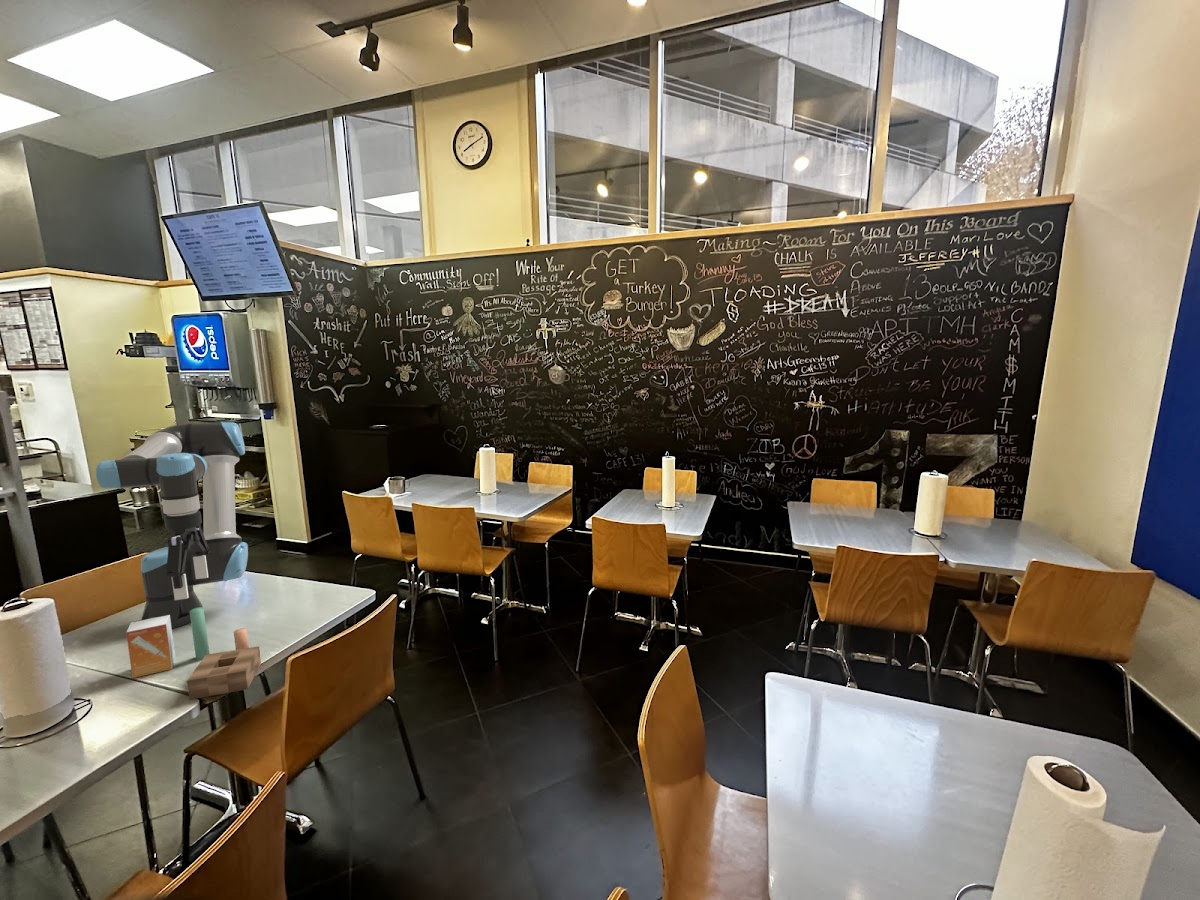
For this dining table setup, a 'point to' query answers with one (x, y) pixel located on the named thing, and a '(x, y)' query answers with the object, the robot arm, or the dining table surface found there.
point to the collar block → (224, 672)
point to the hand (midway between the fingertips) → (192, 588)
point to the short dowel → (241, 639)
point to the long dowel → (199, 632)
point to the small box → (150, 646)
